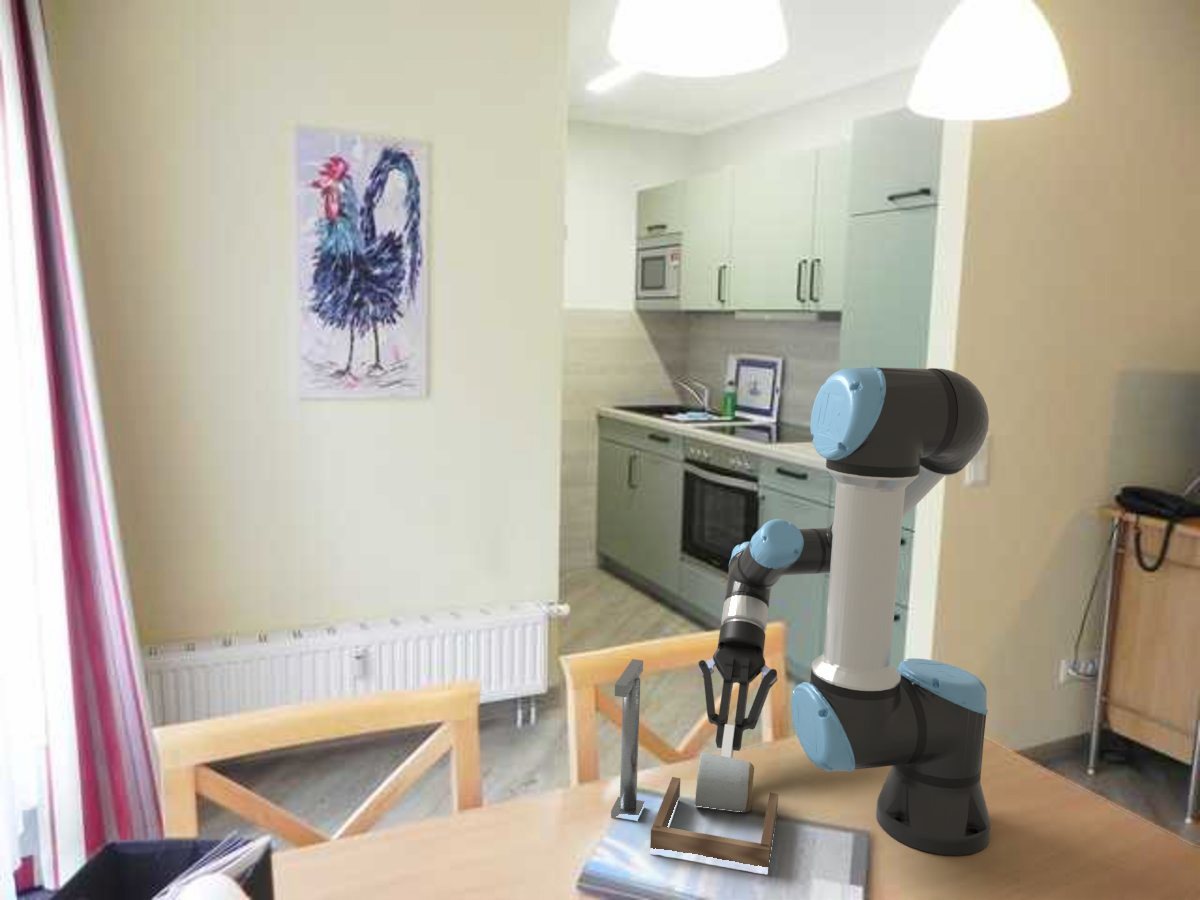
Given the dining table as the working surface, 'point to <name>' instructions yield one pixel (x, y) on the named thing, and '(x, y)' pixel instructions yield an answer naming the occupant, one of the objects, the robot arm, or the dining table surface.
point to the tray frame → (711, 843)
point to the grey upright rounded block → (724, 783)
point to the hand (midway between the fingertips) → (725, 769)
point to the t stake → (629, 739)
